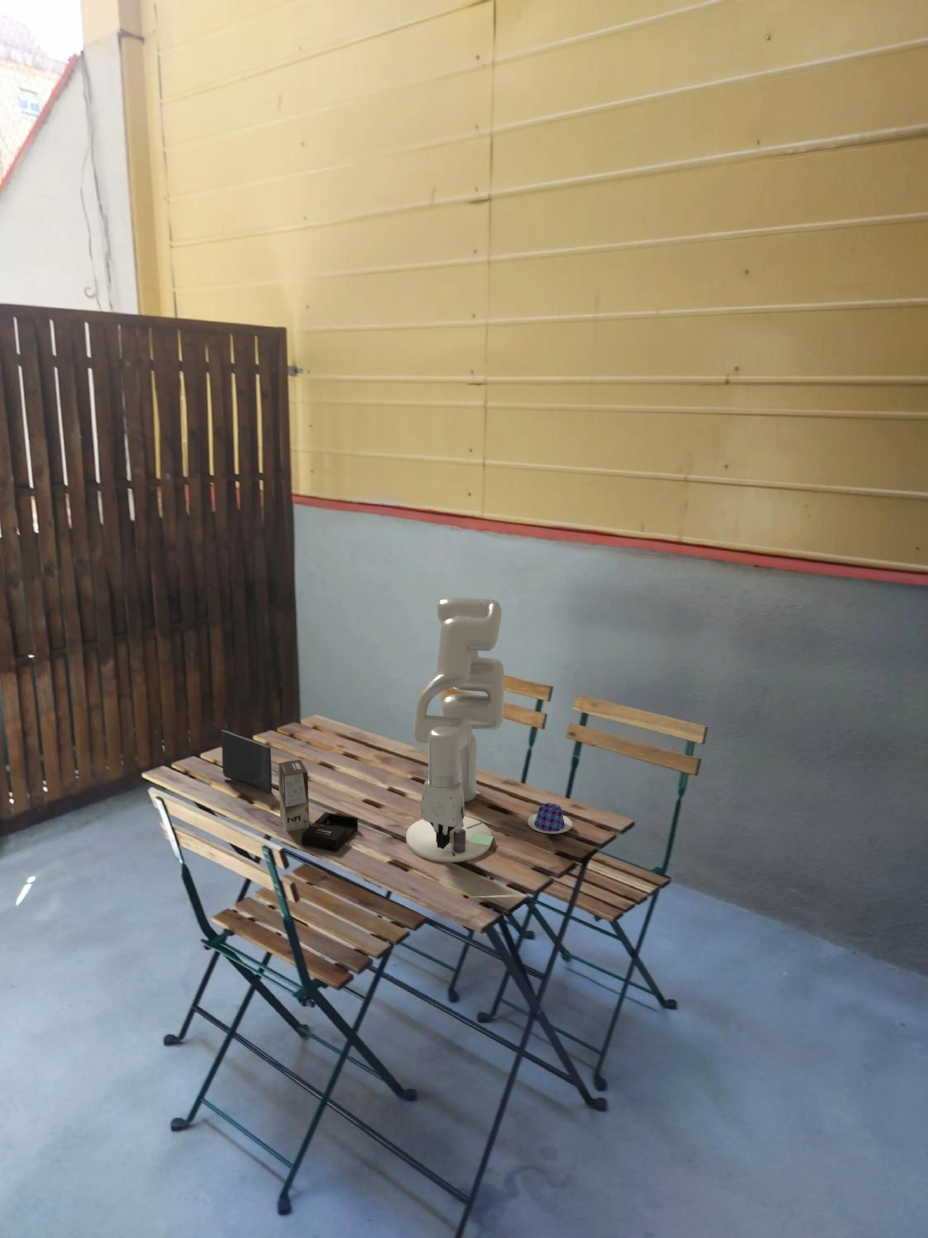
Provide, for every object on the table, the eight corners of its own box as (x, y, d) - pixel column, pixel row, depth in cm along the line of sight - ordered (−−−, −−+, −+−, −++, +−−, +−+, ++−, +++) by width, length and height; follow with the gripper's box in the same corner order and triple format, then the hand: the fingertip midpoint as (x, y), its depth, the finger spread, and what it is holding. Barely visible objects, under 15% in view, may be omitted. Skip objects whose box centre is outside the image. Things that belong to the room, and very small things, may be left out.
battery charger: (335, 855, 206) (335, 840, 205) (301, 848, 209) (301, 834, 208) (358, 831, 218) (358, 817, 217) (325, 825, 221) (325, 811, 220)
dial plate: (403, 821, 223) (403, 816, 223) (485, 818, 226) (485, 812, 226) (409, 864, 202) (409, 858, 202) (499, 860, 205) (499, 854, 204)
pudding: (579, 822, 225) (580, 805, 224) (559, 840, 215) (559, 822, 214) (541, 810, 231) (541, 793, 230) (519, 827, 222) (519, 809, 221)
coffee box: (310, 828, 218) (308, 772, 214) (286, 833, 216) (283, 776, 212) (302, 813, 227) (300, 759, 223) (279, 817, 224) (276, 762, 220)
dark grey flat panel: (275, 792, 239) (273, 743, 235) (270, 795, 237) (268, 745, 233) (227, 775, 249) (225, 728, 246) (222, 778, 248) (220, 730, 244)
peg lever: (438, 830, 215) (438, 812, 214) (454, 828, 216) (455, 810, 215) (452, 854, 203) (452, 835, 202) (469, 852, 204) (470, 833, 203)
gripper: (408, 777, 200) (408, 845, 205) (464, 790, 194) (463, 860, 199) (423, 765, 207) (423, 832, 211) (478, 777, 201) (476, 846, 205)
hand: (442, 845), depth 205 cm, fingers closed
